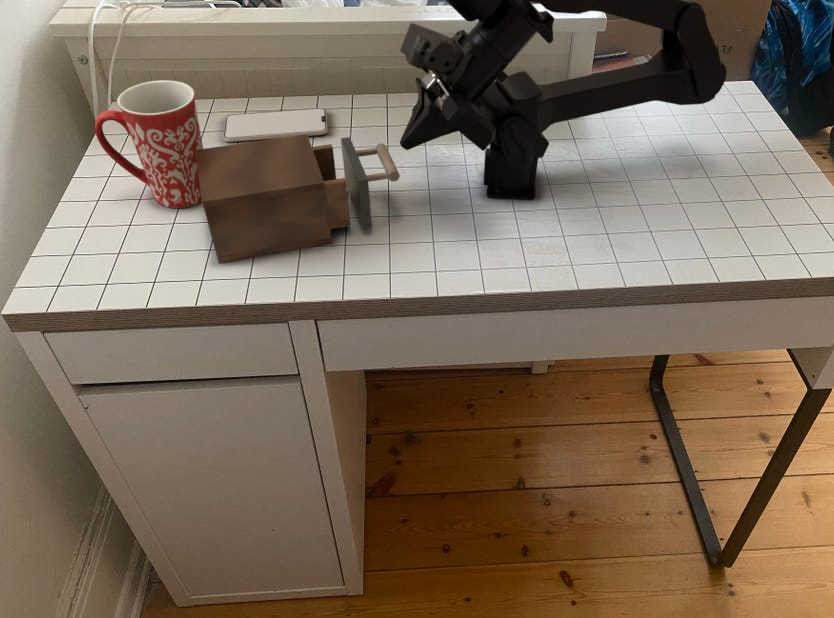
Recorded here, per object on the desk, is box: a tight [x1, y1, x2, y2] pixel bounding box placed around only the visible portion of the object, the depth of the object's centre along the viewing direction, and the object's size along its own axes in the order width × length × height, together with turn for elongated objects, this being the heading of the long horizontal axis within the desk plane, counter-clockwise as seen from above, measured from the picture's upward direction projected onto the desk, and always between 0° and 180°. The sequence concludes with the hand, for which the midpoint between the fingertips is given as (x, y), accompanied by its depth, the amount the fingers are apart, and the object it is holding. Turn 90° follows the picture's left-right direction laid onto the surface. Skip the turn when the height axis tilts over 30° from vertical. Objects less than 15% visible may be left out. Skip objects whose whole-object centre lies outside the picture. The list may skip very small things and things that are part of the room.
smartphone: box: [222, 107, 329, 143], centre depth 112 cm, size 7×1×15 cm
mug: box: [94, 79, 204, 209], centre depth 94 cm, size 13×9×14 cm
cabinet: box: [195, 134, 333, 264], centre depth 91 cm, size 14×12×9 cm
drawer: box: [312, 136, 401, 230], centre depth 93 cm, size 17×10×7 cm, turn 107°
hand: (402, 146), depth 92 cm, fingers closed
